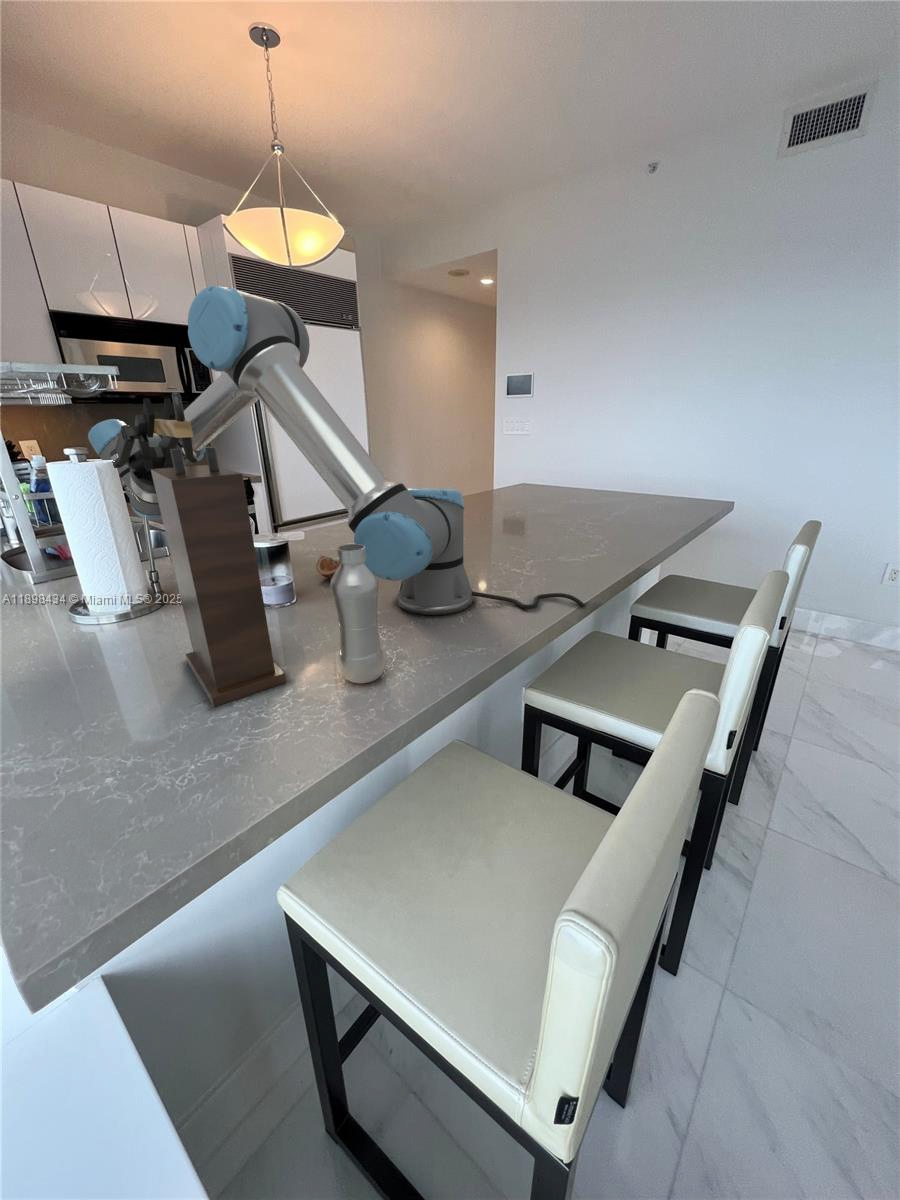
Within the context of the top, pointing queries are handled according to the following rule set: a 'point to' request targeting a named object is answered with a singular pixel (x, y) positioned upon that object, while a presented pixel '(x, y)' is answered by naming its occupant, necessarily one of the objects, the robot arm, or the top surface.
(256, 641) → the hook stand
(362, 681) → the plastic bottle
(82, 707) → the top surface
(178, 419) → the hanger bar
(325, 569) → the fruit slice
